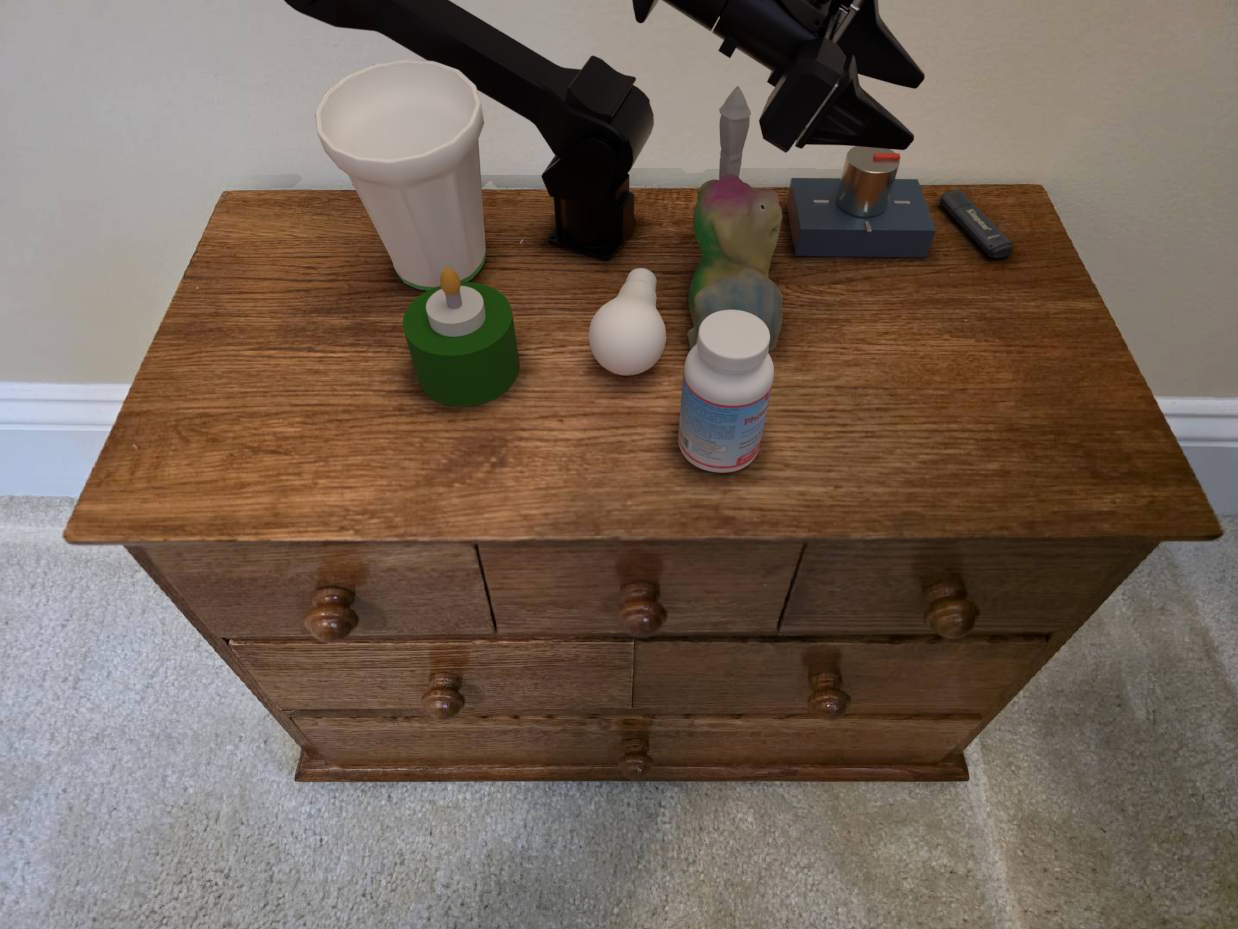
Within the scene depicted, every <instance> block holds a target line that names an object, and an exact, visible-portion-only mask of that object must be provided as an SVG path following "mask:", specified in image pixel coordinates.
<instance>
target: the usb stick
mask: <svg viewBox="0 0 1238 929" xmlns="http://www.w3.org/2000/svg"><path fill="white" fill-rule="evenodd" d="M939 204H940V206H941V207H943V209H944V210H945V211H946V212H947V213H948V215H950V217H951V218H952V219H953V220H954V221H955V222H956V223H957V225H959V226H960V227H961V228H962V229H963V231H965V232H966V234H967V235H968V237H969V238H971V239H972V240H973V241H974V242H975V243H976V244H977V245H978V247H979V248H981V250H982V251H983V252H984V253H985V254H986V255H987V256H988V257H989V258H993V259H1000V258H1004V257H1008V256H1010V255H1011V254H1012V253H1013V251H1014V245H1013V244H1014V243H1013V241H1011V239H1009V237H1008V236H1006V234H1005V233H1004V232H1003V231H1002V230H1001V229H1000V228H999V227H998V226H997V225H996V224H995V223H994V222H993V221H992V220H991V219H990V218H989V217H988V216H987V215H986V214H985V213H984V212H983V211H982V210H981V208H980V207H979V206H977V205H976V203H975V202H973V200H972V199H970V197H969V196H968V195H967V194H966V193H965V192H964V191H963V190H962V189H953V190H951V191H948V192H945V193H944V194H942V195H941V196H940V200H939Z"/></svg>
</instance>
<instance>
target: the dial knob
mask: <svg viewBox="0 0 1238 929" xmlns="http://www.w3.org/2000/svg"><path fill="white" fill-rule="evenodd" d="M900 163H901V155H900V153H896V151H894V150H893V149H883V148H871V147H860V146H852V148H850V149H849V150H848V152H847V153H846V156H845V161H844V164H843V168H842V169H843V170H842V172H841V177H840V178H841V181H840V185H839V189H838V193H837V197H836V201H837V204H838V206H839V207H840V208H841V209H842V210H843V211H845V212H847V213H849V214H851V215H854V216H859V217H872V216H877V215H879V214H881V213H883V212H884V211H885V209H886V208H887V204H888V201H889V198H890V194H891V191H892V188H893V184H894V181H895V179H897V178H896V177H897V174H898V170H899V168H900Z"/></svg>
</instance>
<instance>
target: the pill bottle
mask: <svg viewBox="0 0 1238 929" xmlns="http://www.w3.org/2000/svg"><path fill="white" fill-rule="evenodd" d="M769 342H770V333H769V330H768V328H767V326H766V324H765V323H764V322H763V321H762V320H761V319H760V318H758V317H757V316H755V315H753V314H751V313H748V312H745V311H741V310H722V311H718V312H715V313H713V314H711V315H709V316H708V317H706V318H705V319H704V321H703V322H702V323H701V325H700V328H699V332H698V338H697V344H696V345H695V346H694V347H693V348H692V349H690V350H689V352H688V353H687V356H686V358H685V361H684V367H683V376H682V388H681V398H680V408H679V420H678V432H677V441H678V442H677V443H678V447H679V450H680V452H681V453H682V455H683V457H684V458H685V459H686V460H687V462H689V463H690V464H691V465H693V466H694V467H696V468H698V469H700V470H704V471H706V472H712V473H719V474H720V473H721V474H722V473H723V474H725V473H732V472H733V473H734V472H736V471H737V472H738V471H740V470H742V469H745V468H746V467H747V466H750V464H751V463H752V462H753V461H754V460H755V458H757V456H758V453H759V451H760V447H761V442H762V438H763V433H764V429H765V424H766V419H767V413H768V409H769V404H770V399H771V393H772V390H773V384H774V380H775V379H774V377H775V366H774V363H773V359H772V357H771V356H770V354H769V352H770V351H769Z"/></svg>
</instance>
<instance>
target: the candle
mask: <svg viewBox="0 0 1238 929" xmlns="http://www.w3.org/2000/svg"><path fill="white" fill-rule="evenodd" d="M440 285H441V286H438V287H435V288H432V289H430V290H428V291H426V290H425V291H424V292H422V293H421V294H420V295H419V296H417V297H415V298H414V299H413V301H411V302H410V303H409V304H408V306H407V308H406V309H405V311H404V314H403V317H402V324H401V325H402V330H403V333H404V336H405V340H406V343H407V347H408V350H409V351H408V352H409V354H410V358H411V361H412V365H413V368H414V372H415V376H416V379H417V383H418V385H419V387H420V388H421V391H422V392H423V393H425V395H426V396H427V397H429V398H430V399H431V400H433V401H434V402H438V403H440V404H443V405H445V406H451V407H475V406H479V405H483V404H487V403H489V402H491V401H493V400H496V399H498V398H499V397H500V396H502V395H503V394H505V393H506V392H507V391H508V390H510V388H511V387H512V386H513V385H514V383H515V382H516V380H517V379H518V376H519V372H520V369H521V368H520V358H519V357H520V356H519V351H518V343H517V336H516V330H515V322H514V315H513V308H512V306H511V303H510V301H509V300H508V298H507V297H506V296H505V294H503V293H501V291H499V290H497V289H496V288H494V287H492V286H489V285H486V284H483V283H479V282H472V281H471V282H470V281H468V282H460V279H459V277H458V275H457V274H456V272H455V271H453V270H452V269H450V268H446V269H445V270H443V272H442V274H441V277H440Z"/></svg>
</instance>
